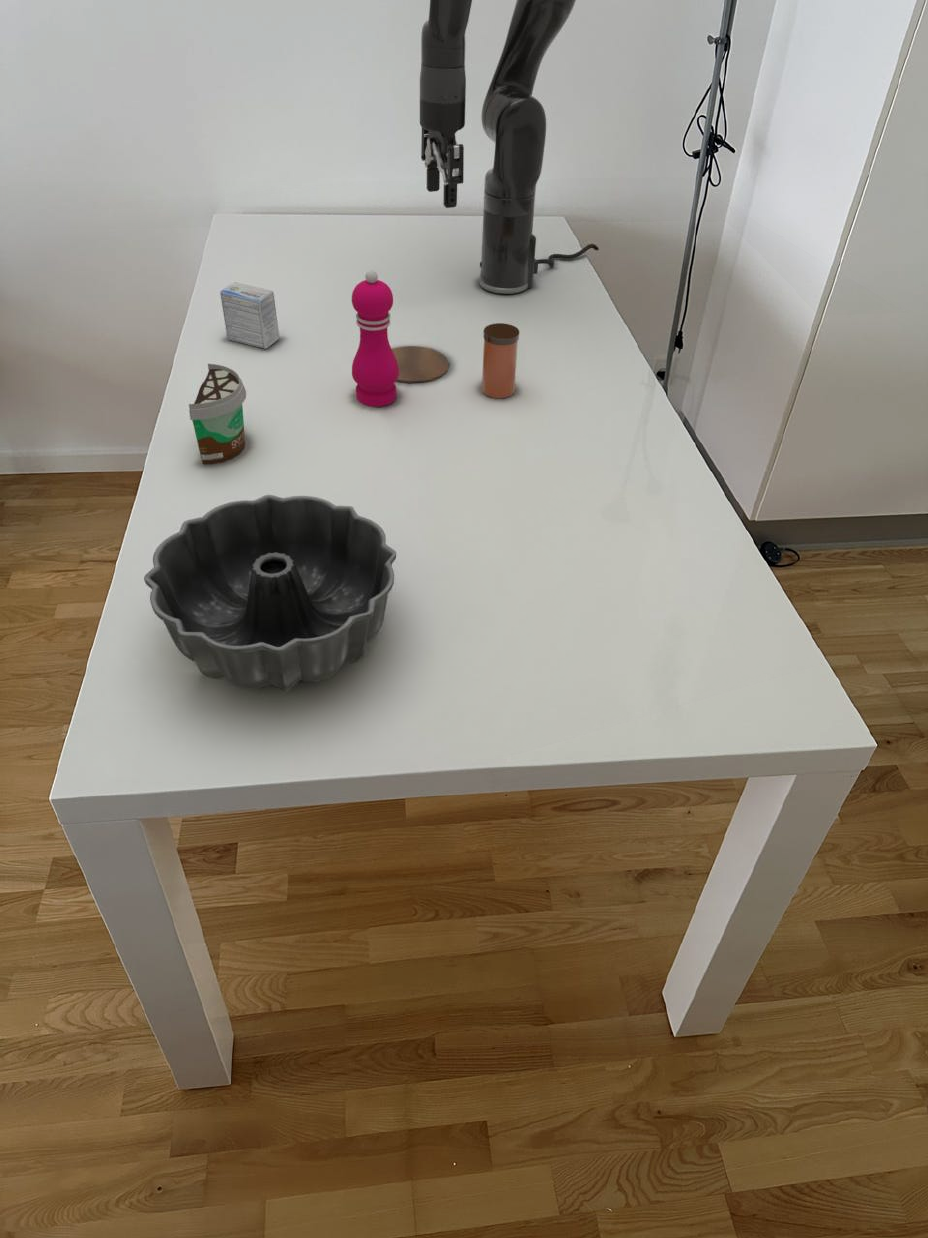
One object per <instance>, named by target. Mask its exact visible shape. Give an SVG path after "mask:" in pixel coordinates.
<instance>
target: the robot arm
mask: <svg viewBox="0 0 928 1238" xmlns="http://www.w3.org/2000/svg"><path fill="white" fill-rule="evenodd" d="M576 1H577V0H516V2H515V5H514V9H513V12H512V16H511V19H510V22H509V26H508V30H507V34H506V38H505V41H504V45H503V49H502V51H501V54H500V57H499V59H498V63H497V65H496V68H495V70H494V73H493V76H492V79H491V81H490V84H489V86H488V89H487V92H486V95H485V97H484V100H483V103H482V108H481V115H480V119H481V121H480V122H481V126H482V130H483V131H484V134H485V135H486V137H488V139H489V140H491V141H492V142H493V143H494V156H493V157H494V158H493V166H492V168H490V169H489V170H487V172H486V173H485V174H484V175H485V176H484V184H483V185H484V188H483V213H482V231H481V232H482V235H481V256H480V258H481V259H480V262H479V268H480V274H479V285H480V287H481V288H482V289H483V290H485V291H488V292H490V293H494V294H499V295H513V294H519V293H522V292H524V291H526V290H527V289H531V288H533V281H534V275H538V271H539V265H542V264H543V265H548V266H550V267H553V266H554V265H555V262H554V259H563V260H572V259H576V258H579V257H580V256H582V255H584V254H585V253H586V252H587V251H589V250H591V249H593V250H594V251H599V250H600V247H598V246H597V244H595V243H588V244H587V245H586V246H584V247H583V248H581V249H580V250H579V251H577V252H575V253H572V254H564V253H563V254H562V253H553V254H550V255H549V256H548V258H547V259H546V258H541V259H539V258H538V259H536V245H537V237H536V235H534V234H533V228H534V217H535V204H536V202H535V201H536V191H537V183H538V182H539V179H540V177H541V174H542V169H543V163H544V154H545V146H546V137H547V116H546V111H545V108H544V106H543V104H542V103H541V102H540V101H539V100H538V99H537V98H536V97H534V96H533V91H534V87H535V83H536V79H537V76H538V72H539V70H540V67H541V64H542V61H543V59H544V57H545V55H546V53H547V51H548V49H549V48H550V46H551V45H552V43H553V42H554V40H555V39H556V37H557V36H558V35H559V33H560V32H561V30H562V29H563V27H564V26H565V24H566V22H567V21H568V19H569V17H570V15H571V14H572V12H573V10H574V7H575V4H576ZM472 3H473V0H429V9H428V10H429V11H428V20H426V21H425V22H424V23H423V25H422V27H421V34H420V35H421V36H420V43H421V44H420V47H421V48H420V60H421V61H420V73H419V125H420V127H421V141H420V143H421V145H420V148H421V149H420V158H421V161H422V162H424V167H425V168H426V190H427V191H428V192H429V193H431V192H433V193H434V192H439V190H440V186H441V185H440V184H441V183H440V182H441V181H440V180H441V179H440V177H441V176H442V181H443V197H442V198H443V200H442V201H443V202H442V203H443V206H444V207H445V208H446V209H450V208H456V207H457V205H458V185H459V184H464V180H465V179H464V174H465V173H464V168H465V167H464V165H465V164H464V163H465V162H464V161H465V157H464V155H465V154H464V153H465V152H464V151H465V147H464V144H463V143H457V140H456V139H457V138H456V134H457V132H458V131H460V130H462V129H464V128H465V125H466V102H467V101H466V96H467V75H466V32H467V28H468V23H469V20H470V14H471V10H472ZM440 174H441V175H440Z"/></svg>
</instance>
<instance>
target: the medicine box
mask: <svg viewBox="0 0 928 1238" xmlns="http://www.w3.org/2000/svg"><path fill="white" fill-rule="evenodd" d="M274 292H275V291H273V290H270V289H267V288H263V287H259V286H254V285H249V284H246V283H241V282H236V281H235V282H233V283H231V284H229V285H227V286H226V287H224V288H223V289H222V290H220V292H219V294H220V299H221V300H220V301H221V309H222V313H223V321H224V326H225V331H226V332H225V333H226V338H227V340H229V341H233V342H237V343H242V344H245V345H249V346H253V347H257V348H261V349H265V350H267V349H268V348H270V347H271V346H272V345H274V344H275V343H276V342H277V341H279V340H280V330H279V323H278V316H277V308H276V299H275V293H274Z"/></svg>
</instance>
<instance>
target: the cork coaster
mask: <svg viewBox="0 0 928 1238" xmlns="http://www.w3.org/2000/svg"><path fill="white" fill-rule="evenodd" d="M391 349H392V351H393V353H394V355H395V357H396V360H397V363H398V368H399V376H398V379H397V380H396V382H399V383H403V384H404V383H406V384H420V383H428V382H431V381H434V380H438V379H440V378H442V377H443V376H444V375H445V374H446V373H447V372H448V370H449V368H450V362H449V359H448V358H447V356H445V354H443V353H442V352H440V351H437V350H435V349H433V348H430V347H424V346H415V345H409V346H408V345H407V346H399V347H394V348H391Z"/></svg>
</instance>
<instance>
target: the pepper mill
mask: <svg viewBox="0 0 928 1238" xmlns="http://www.w3.org/2000/svg"><path fill="white" fill-rule="evenodd" d="M378 278H379V275H378V273H377V272H376V271H375V270H372V269H371V270H368V271H366V273H365V279H363V280H362V281H360V282H359V283H357V284H356V285H355V287H354V288H353V290H352V294H351V304H352V307H353V309H354V311H355V312H356V315H355V318H356V321H355V323H356V325H357V327H358V328H359V343H358V348H357V351H356V352H355V355H354V358H353V360H352V363H351V364H352V365H351V377H352V379H353V381H354V382H355V383H356V386H355V397H356V400H357V401H358V403H360V404H362V405H363V406H367V407H371V408H378V407H379V408H380V407H381V408H382V407H387V406H389V405H390V404H393V402H395V401H396V399H397V386H396V382H397V381H396V380H397V379H398V376H399V368H398V363H397V360H396V357H395V355H394V353H393V351H392V349H393V348H392V346H391V344H390V341H389V334H388V327H389V326H390V325H391V313H390V311H391V310H392V308H393V306H394V295H393V291H392V289H391V287H390V286H389V285H388V284H387V283H385V282H384V281H382V280H381V279H378Z"/></svg>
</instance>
